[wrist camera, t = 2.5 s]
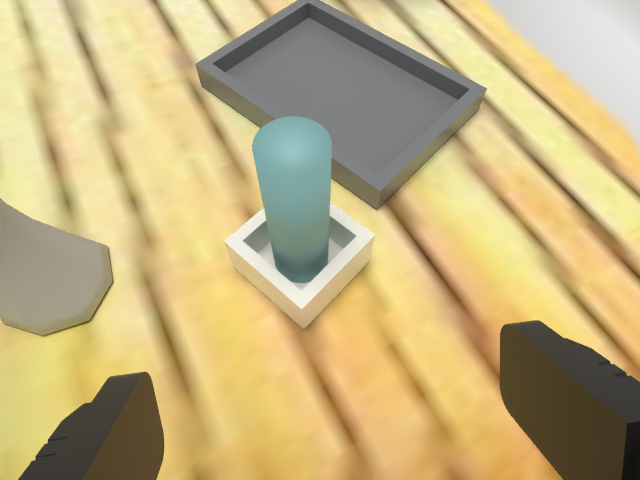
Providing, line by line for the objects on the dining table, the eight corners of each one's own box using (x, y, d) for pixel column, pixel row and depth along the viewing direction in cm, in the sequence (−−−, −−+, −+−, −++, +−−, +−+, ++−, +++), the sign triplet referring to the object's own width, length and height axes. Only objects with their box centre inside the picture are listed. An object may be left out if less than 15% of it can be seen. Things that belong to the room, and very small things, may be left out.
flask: (22, 239, 31) (-93, 141, 22) (124, 236, 31) (49, 137, 22) (-14, 339, 27) (-168, 266, 19) (102, 335, 27) (2, 261, 19)
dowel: (263, 260, 29) (235, 146, 20) (300, 226, 30) (291, 104, 21) (302, 293, 28) (293, 189, 18) (339, 257, 29) (348, 142, 20)
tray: (201, 86, 39) (195, 64, 37) (308, 16, 44) (307, -6, 42) (376, 209, 32) (380, 191, 30) (478, 110, 37) (487, 88, 35)
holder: (233, 267, 30) (223, 241, 27) (300, 208, 32) (297, 178, 29) (303, 329, 28) (301, 309, 25) (369, 261, 30) (374, 235, 27)
